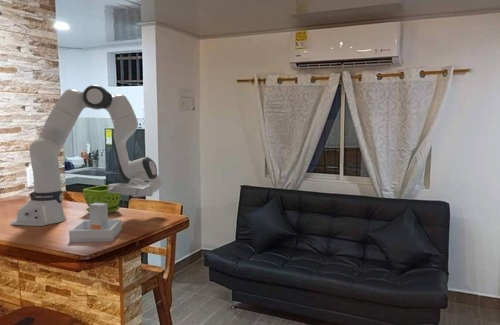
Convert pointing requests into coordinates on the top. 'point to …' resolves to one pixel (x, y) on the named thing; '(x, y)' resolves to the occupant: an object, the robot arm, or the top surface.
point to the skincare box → (98, 216)
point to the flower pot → (102, 197)
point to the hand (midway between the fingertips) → (117, 192)
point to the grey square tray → (94, 232)
